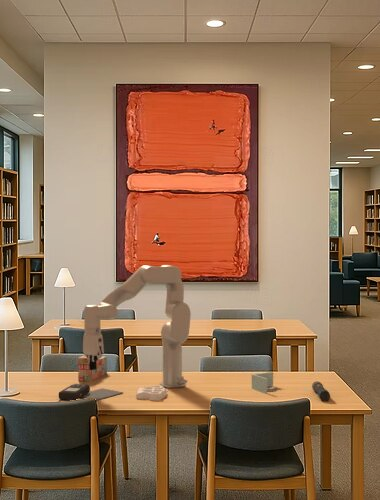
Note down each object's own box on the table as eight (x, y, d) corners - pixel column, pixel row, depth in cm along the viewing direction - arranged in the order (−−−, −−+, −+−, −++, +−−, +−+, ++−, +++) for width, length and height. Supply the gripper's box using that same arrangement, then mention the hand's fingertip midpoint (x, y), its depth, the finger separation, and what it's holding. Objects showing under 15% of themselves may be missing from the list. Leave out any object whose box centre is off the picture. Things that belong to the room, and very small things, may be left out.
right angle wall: (265, 394, 352) (265, 379, 352) (251, 389, 362) (251, 374, 362) (286, 391, 358) (286, 376, 357) (271, 386, 368) (271, 371, 368)
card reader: (90, 383, 353) (76, 392, 338) (91, 392, 353) (76, 401, 339) (73, 382, 356) (58, 391, 341) (73, 390, 356) (58, 400, 342)
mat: (123, 393, 354) (123, 392, 354) (96, 400, 340) (96, 399, 340) (102, 389, 363) (102, 388, 363) (74, 396, 348) (74, 395, 348)
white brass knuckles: (138, 392, 358) (168, 392, 358) (135, 401, 340) (167, 401, 340) (138, 385, 358) (168, 385, 358) (135, 394, 340) (167, 393, 340)
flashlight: (319, 401, 336) (319, 390, 336) (311, 390, 358) (311, 380, 358) (330, 401, 336) (330, 390, 336) (321, 390, 358) (321, 380, 358)
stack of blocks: (96, 372, 402) (96, 350, 402) (107, 373, 400) (106, 350, 400) (78, 381, 382) (77, 357, 382) (89, 381, 380) (88, 357, 380)
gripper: (109, 331, 351) (109, 370, 352) (87, 328, 360) (87, 366, 361) (98, 333, 345) (98, 372, 346) (75, 330, 354) (76, 368, 355)
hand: (93, 369), depth 353 cm, fingers closed
